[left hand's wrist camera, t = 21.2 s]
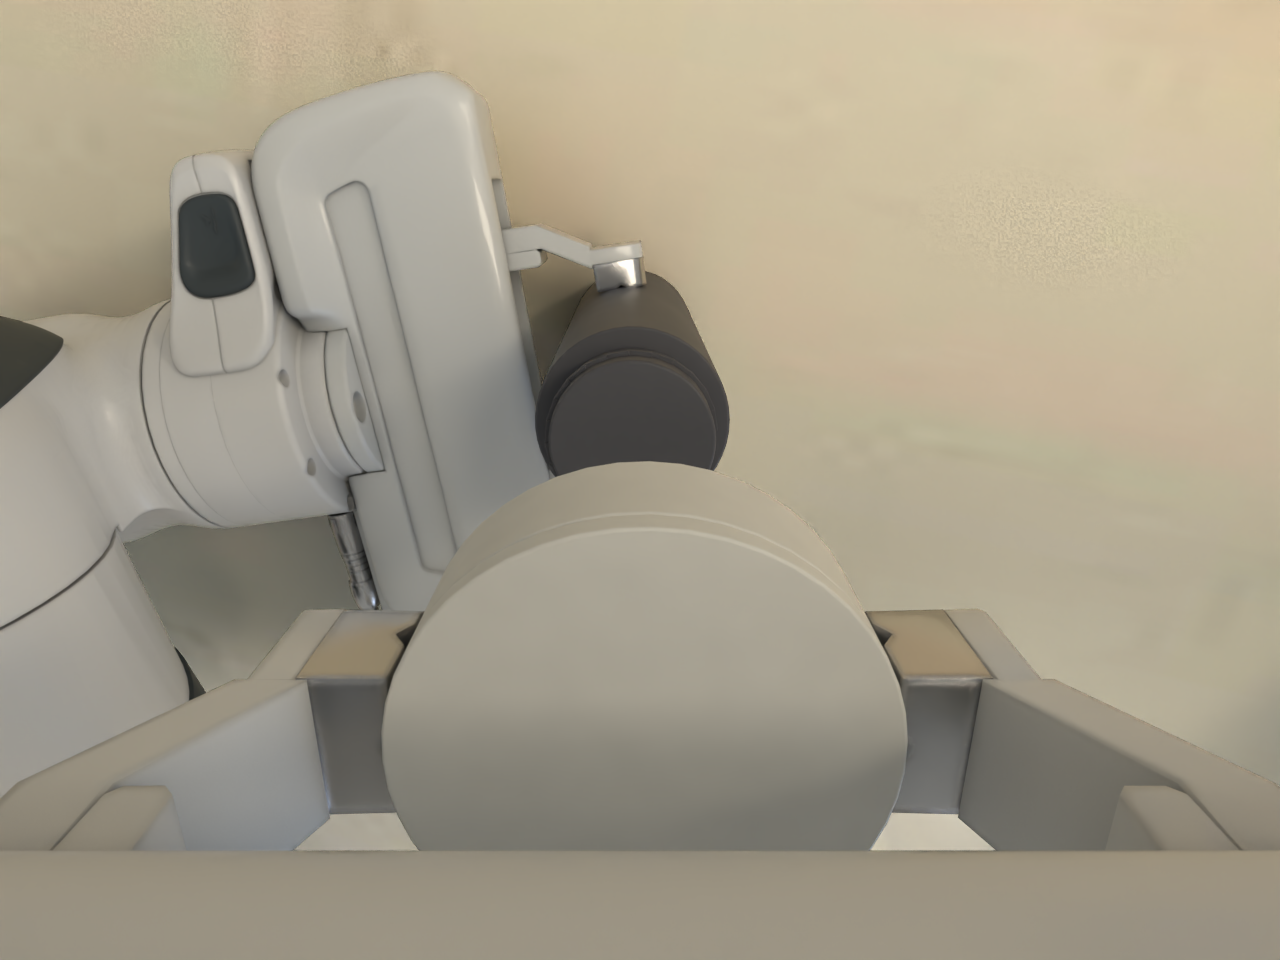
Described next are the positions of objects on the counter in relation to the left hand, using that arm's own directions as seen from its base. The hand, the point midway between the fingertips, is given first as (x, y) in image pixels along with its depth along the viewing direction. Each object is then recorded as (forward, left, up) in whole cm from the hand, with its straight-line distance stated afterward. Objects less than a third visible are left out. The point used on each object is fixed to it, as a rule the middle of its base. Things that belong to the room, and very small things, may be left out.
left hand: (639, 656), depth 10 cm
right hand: (0, +1, -20) cm, 20 cm away
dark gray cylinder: (0, 0, -26) cm, 26 cm away
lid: (0, 0, +2) cm, 2 cm away
